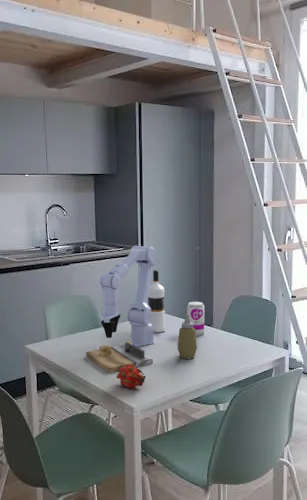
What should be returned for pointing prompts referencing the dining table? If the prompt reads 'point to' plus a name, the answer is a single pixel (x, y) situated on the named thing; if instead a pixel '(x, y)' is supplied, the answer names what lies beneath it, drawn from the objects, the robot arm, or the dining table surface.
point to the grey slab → (116, 358)
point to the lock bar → (134, 349)
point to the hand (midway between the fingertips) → (111, 334)
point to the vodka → (156, 304)
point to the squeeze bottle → (187, 339)
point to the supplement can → (196, 316)
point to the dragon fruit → (130, 376)
